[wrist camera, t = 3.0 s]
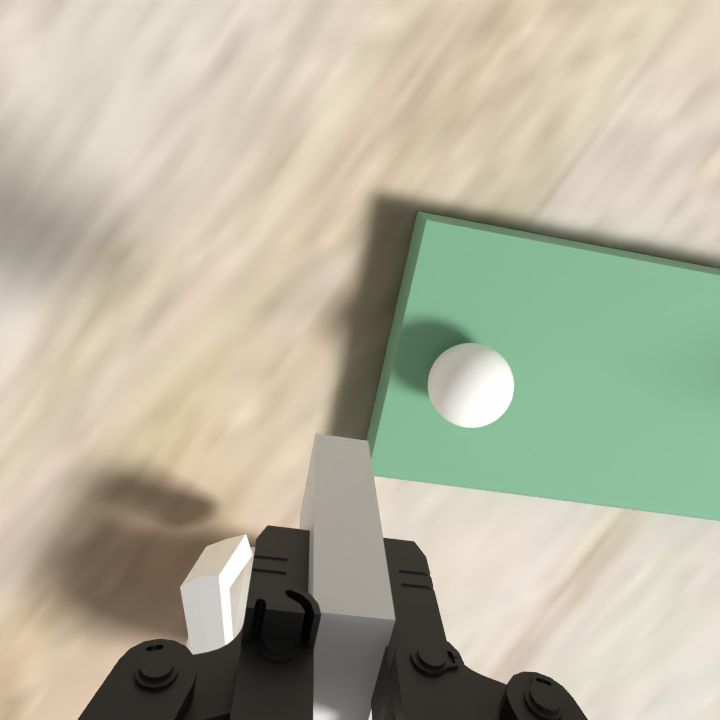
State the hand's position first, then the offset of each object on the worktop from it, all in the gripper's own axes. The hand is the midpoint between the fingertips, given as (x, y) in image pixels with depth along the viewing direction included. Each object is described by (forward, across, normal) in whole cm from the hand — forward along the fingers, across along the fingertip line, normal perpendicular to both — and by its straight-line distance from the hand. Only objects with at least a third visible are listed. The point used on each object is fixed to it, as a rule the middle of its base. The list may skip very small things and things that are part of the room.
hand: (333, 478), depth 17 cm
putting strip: (+12, +16, 0) cm, 20 cm away
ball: (+8, +6, 0) cm, 10 cm away
